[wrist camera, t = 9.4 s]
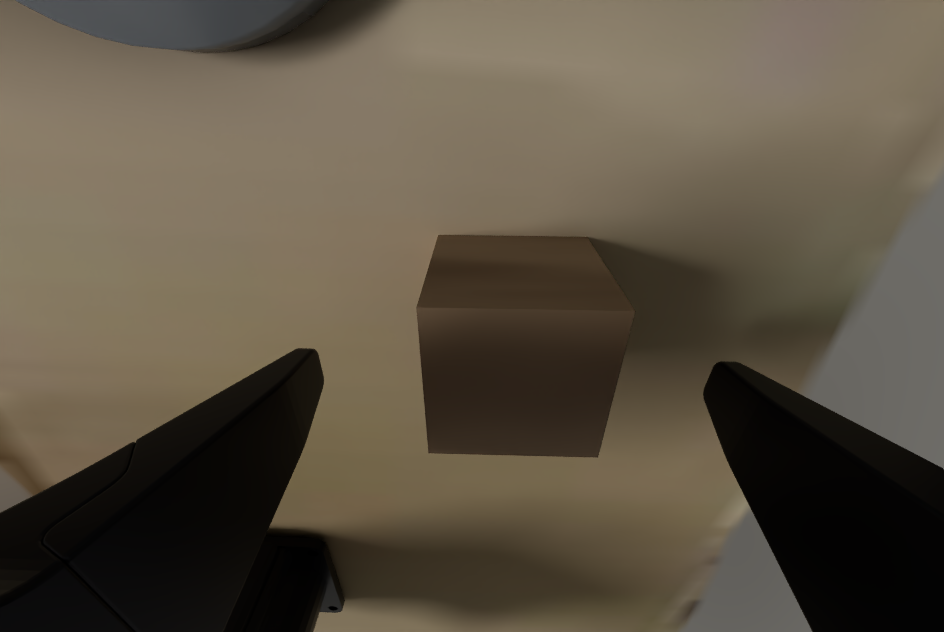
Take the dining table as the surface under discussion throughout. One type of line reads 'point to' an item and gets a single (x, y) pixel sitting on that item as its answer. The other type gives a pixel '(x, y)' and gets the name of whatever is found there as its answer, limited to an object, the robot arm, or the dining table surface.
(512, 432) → the walnut block
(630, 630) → the dining table surface
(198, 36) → the grey domed disc
